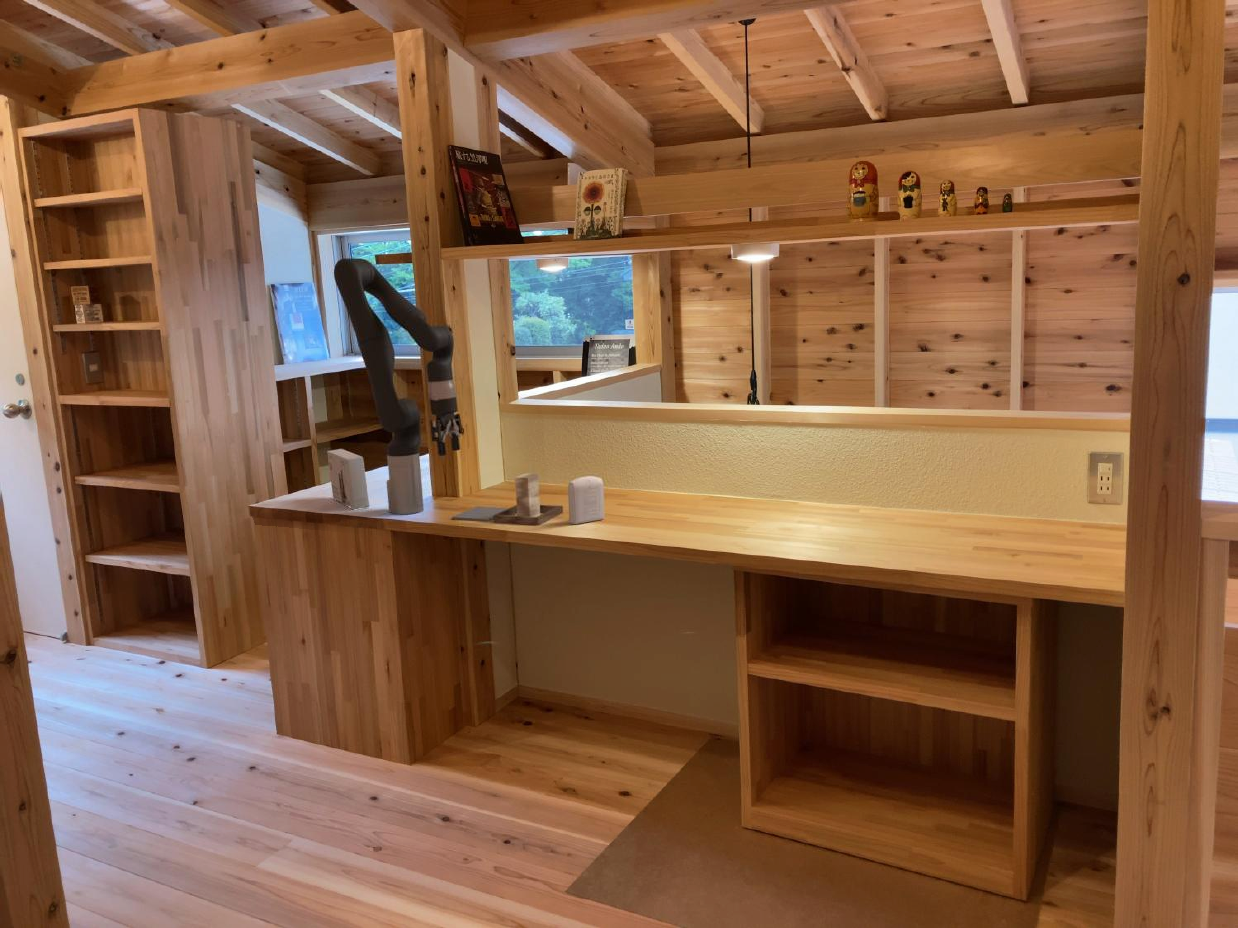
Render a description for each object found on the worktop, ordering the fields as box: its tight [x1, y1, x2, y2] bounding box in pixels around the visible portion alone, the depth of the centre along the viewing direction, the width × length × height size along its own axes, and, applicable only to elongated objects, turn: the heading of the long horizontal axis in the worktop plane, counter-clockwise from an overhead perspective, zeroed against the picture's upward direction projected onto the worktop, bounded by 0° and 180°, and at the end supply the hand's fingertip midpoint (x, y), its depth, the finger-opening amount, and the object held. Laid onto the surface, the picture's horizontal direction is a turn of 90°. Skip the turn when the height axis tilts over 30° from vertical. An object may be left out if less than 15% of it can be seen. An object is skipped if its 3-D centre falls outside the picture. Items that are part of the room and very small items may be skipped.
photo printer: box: [567, 475, 605, 525], centre depth 262 cm, size 10×4×12 cm, turn 123°
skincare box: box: [326, 448, 370, 510], centre depth 297 cm, size 21×5×16 cm, turn 33°
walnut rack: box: [493, 504, 564, 526], centre depth 270 cm, size 14×15×2 cm
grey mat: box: [451, 505, 510, 522], centre depth 276 cm, size 12×14×1 cm
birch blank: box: [514, 473, 541, 517], centre depth 269 cm, size 4×6×12 cm, turn 157°
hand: (449, 452), depth 275 cm, fingers open, 8 cm apart
